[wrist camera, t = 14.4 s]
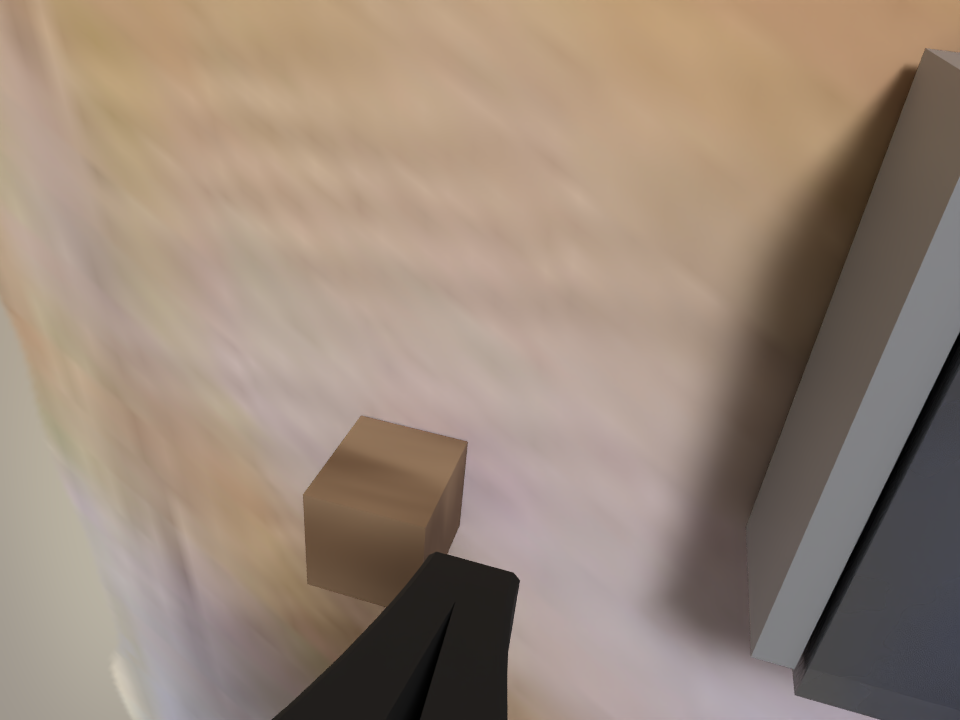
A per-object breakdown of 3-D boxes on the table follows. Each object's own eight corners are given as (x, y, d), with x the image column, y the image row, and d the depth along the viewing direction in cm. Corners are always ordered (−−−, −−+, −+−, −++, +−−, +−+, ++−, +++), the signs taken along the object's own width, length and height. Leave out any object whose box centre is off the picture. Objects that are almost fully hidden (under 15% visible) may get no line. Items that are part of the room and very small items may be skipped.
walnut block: (459, 525, 25) (419, 616, 22) (360, 499, 26) (307, 583, 23) (467, 441, 23) (425, 527, 20) (360, 415, 24) (302, 494, 21)
